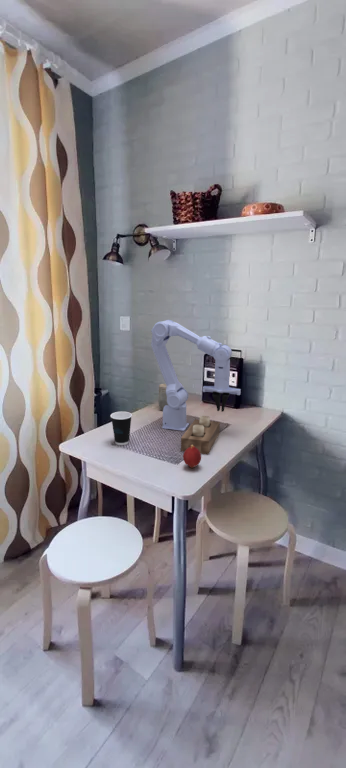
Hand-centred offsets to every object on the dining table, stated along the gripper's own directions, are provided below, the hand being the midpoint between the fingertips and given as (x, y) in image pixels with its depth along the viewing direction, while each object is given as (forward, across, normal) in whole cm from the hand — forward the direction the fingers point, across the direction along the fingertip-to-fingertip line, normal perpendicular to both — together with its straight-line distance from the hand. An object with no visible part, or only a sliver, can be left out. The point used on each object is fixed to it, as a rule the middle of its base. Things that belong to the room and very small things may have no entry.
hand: (220, 410), depth 153 cm
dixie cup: (+10, -33, -21) cm, 40 cm away
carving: (+10, -30, +21) cm, 38 cm away
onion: (+10, -3, -32) cm, 34 cm away
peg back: (+6, -5, -6) cm, 10 cm away
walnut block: (+9, -5, -11) cm, 15 cm away
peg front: (+6, -5, -16) cm, 18 cm away
